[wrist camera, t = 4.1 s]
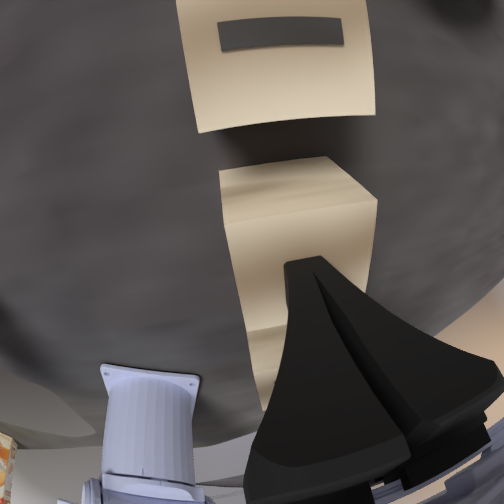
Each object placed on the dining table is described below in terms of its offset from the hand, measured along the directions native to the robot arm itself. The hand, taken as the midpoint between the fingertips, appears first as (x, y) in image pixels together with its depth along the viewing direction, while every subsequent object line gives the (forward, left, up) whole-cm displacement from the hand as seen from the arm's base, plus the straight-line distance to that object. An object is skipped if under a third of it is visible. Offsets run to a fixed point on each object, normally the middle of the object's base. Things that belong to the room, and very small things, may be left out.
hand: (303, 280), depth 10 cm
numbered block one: (+7, +3, -5) cm, 9 cm away
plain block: (0, 0, -5) cm, 5 cm away
